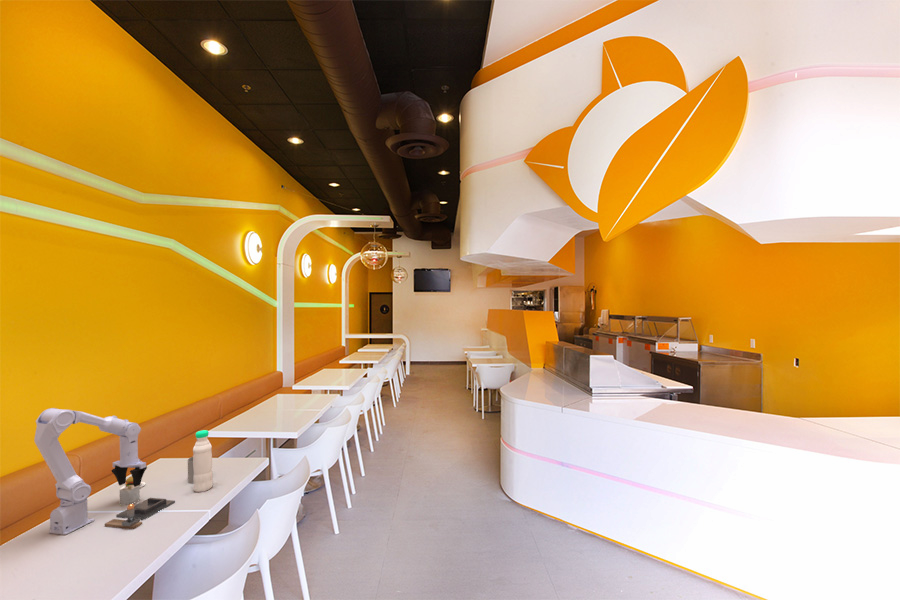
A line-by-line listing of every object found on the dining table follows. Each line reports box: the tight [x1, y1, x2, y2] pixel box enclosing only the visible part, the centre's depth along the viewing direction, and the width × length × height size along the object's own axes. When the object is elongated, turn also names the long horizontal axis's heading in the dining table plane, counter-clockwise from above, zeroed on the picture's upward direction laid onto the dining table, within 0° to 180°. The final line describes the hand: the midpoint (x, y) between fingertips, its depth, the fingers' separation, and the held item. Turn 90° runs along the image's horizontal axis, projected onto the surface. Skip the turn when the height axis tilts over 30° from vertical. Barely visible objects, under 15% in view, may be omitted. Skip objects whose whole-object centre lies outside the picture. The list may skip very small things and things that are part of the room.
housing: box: [119, 485, 141, 506], centre depth 162 cm, size 4×4×7 cm
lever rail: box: [104, 518, 143, 530], centre depth 144 cm, size 3×13×1 cm, turn 78°
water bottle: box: [192, 429, 213, 493], centre depth 172 cm, size 7×7×25 cm
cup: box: [187, 456, 194, 485], centre depth 182 cm, size 8×8×10 cm
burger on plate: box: [119, 475, 146, 491], centre depth 176 cm, size 12×12×6 cm
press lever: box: [122, 503, 141, 526], centre depth 143 cm, size 4×4×7 cm
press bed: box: [115, 497, 176, 520], centre depth 155 cm, size 13×13×2 cm
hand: (129, 485), depth 162 cm, fingers open, 7 cm apart
